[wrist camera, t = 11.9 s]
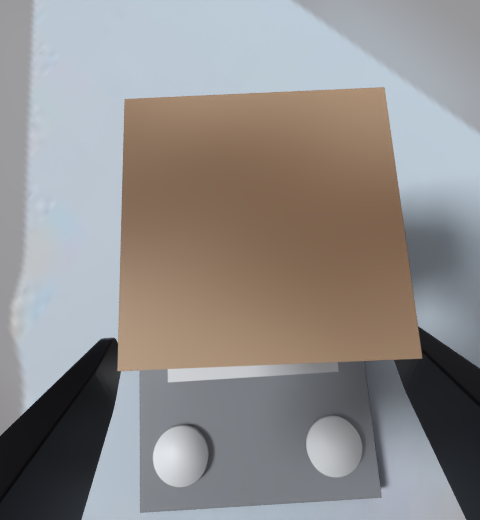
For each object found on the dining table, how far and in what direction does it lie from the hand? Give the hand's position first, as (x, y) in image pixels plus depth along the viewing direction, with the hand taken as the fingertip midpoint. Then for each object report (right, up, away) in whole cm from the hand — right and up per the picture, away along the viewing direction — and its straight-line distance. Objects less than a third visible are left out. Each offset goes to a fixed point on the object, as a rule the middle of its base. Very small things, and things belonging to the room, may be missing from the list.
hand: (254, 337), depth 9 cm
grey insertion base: (0, -2, +10) cm, 10 cm away
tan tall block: (0, +1, +10) cm, 10 cm away
